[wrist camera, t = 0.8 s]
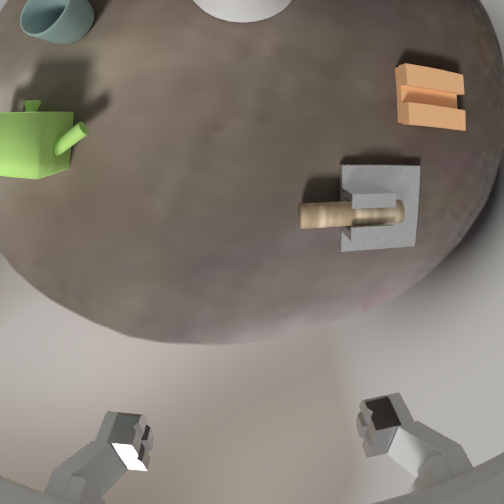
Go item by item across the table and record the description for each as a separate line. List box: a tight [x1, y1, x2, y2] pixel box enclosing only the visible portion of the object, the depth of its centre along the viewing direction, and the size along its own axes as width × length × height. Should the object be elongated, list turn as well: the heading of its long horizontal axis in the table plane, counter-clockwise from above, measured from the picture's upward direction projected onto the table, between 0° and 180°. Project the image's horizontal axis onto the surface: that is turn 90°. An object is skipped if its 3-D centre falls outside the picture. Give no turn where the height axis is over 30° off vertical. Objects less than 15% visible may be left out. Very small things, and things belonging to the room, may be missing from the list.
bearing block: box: [338, 164, 420, 252], centre depth 41 cm, size 12×12×6 cm
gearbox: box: [0, 100, 89, 179], centre depth 34 cm, size 18×10×10 cm, turn 79°
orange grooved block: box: [395, 63, 466, 131], centre depth 36 cm, size 8×10×4 cm
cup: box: [20, 0, 95, 44], centre depth 28 cm, size 8×8×10 cm
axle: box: [298, 200, 405, 229], centre depth 41 cm, size 14×3×3 cm, turn 94°
